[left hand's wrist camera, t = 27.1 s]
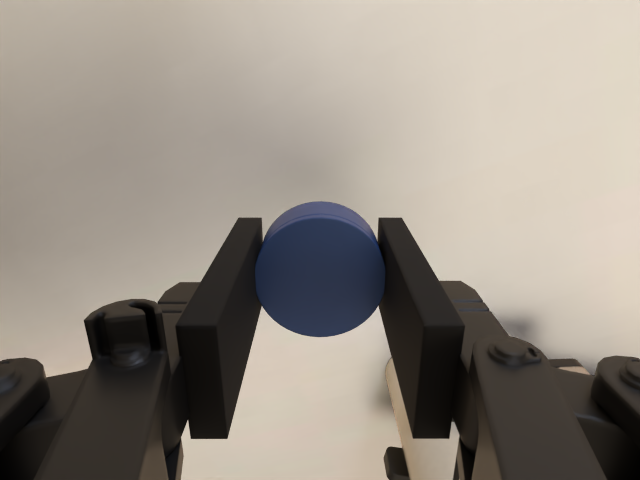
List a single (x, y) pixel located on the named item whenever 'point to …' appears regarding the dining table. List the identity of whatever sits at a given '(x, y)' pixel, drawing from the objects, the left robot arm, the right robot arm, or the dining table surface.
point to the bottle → (421, 441)
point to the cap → (320, 270)
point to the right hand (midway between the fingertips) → (399, 432)
